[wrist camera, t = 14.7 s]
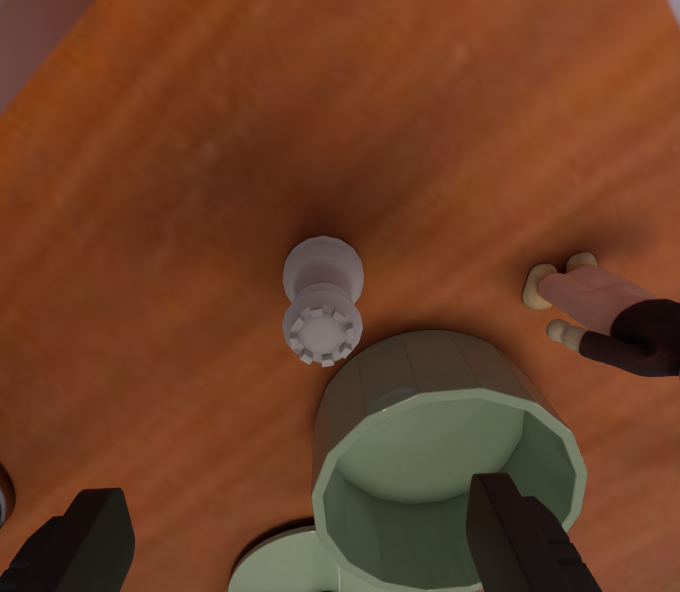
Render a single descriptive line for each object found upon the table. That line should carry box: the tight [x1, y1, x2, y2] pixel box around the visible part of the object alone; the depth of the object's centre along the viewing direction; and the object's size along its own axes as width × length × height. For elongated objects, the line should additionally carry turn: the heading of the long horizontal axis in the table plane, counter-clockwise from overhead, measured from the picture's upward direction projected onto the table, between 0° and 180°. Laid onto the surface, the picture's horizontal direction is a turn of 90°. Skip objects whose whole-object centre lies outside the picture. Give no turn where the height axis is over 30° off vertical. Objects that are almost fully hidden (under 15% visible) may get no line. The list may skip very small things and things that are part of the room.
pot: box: [311, 330, 588, 592], centre depth 25 cm, size 14×14×6 cm
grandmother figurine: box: [522, 252, 680, 378], centre depth 18 cm, size 8×4×13 cm, turn 115°
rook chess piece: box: [282, 236, 364, 367], centre depth 20 cm, size 4×4×8 cm
